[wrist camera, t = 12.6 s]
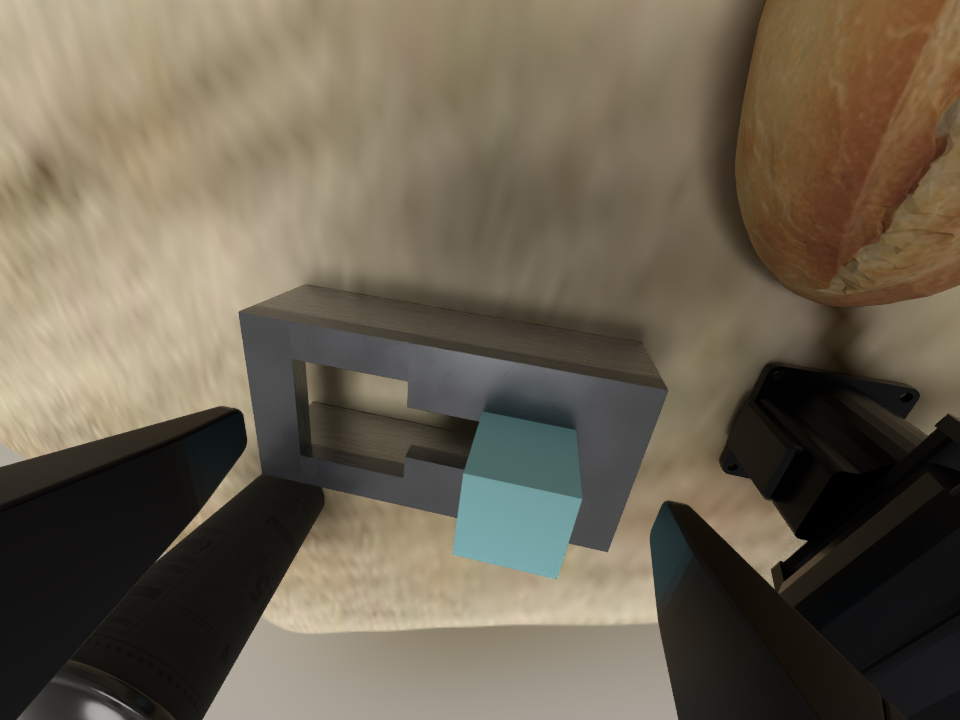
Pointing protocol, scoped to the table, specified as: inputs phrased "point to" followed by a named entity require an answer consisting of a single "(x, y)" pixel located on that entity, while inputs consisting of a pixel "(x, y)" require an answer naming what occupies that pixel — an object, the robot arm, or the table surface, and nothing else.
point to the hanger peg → (519, 495)
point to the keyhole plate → (443, 398)
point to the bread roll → (854, 148)
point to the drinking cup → (187, 614)
